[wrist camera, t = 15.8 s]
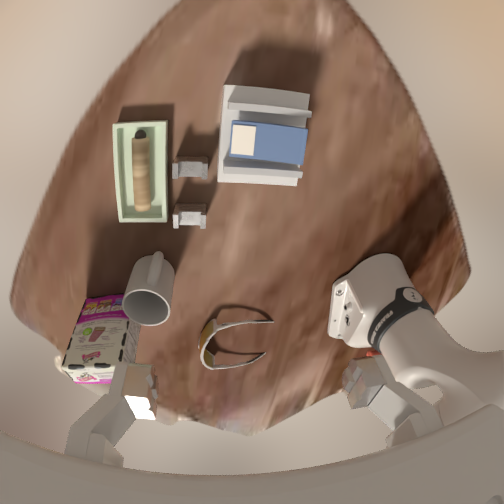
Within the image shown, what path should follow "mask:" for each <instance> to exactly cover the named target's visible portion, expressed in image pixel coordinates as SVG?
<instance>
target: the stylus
mask: <svg viewBox="0 0 504 504" xmlns="http://www.w3.org/2000/svg"><path fill="white" fill-rule="evenodd" d="M132 174H133V192H134V207H135V210H136V211H139V212H143V211H148V210H150V209H151V192H150V137H147V134H146V132H145V131H144V130H138V131H137V132H136V133H135V137H134V138H132Z"/></svg>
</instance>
